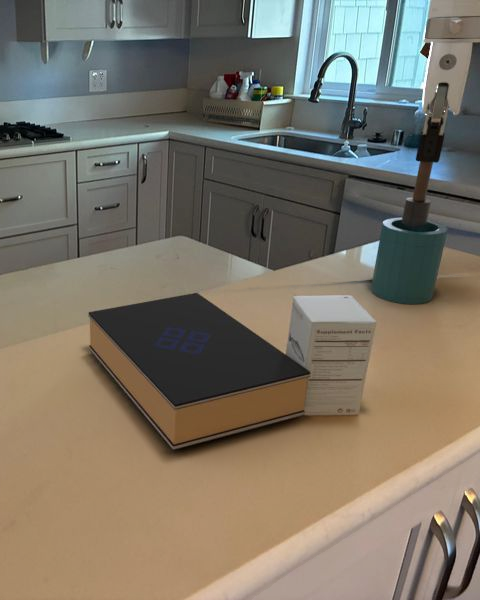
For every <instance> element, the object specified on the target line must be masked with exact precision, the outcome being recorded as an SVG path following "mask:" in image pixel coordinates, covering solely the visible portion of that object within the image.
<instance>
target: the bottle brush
mask: <svg viewBox="0 0 480 600" xmlns="http://www.w3.org/2000/svg"><path fill="white" fill-rule="evenodd" d="M427 130H428V128H427ZM426 135H427V133H426ZM433 164H434V162H421V161H419V164H418V170H417V175H416V180H415V183H414V189H413V194H412V197H407V198H405V202H404V207H403V213H402V217H401V218H402V222H401V223H402V224H403V225H406V226H410V227H425V226H426V224H427V220H429V214H430V211H431V210H430V209H431V206H432V205H431V204H432V200H431V199H428V198H427V193H428V188H429V183H430V180H431V179H430V178H431V174H432V171H433V170H432V169H433Z"/></svg>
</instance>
